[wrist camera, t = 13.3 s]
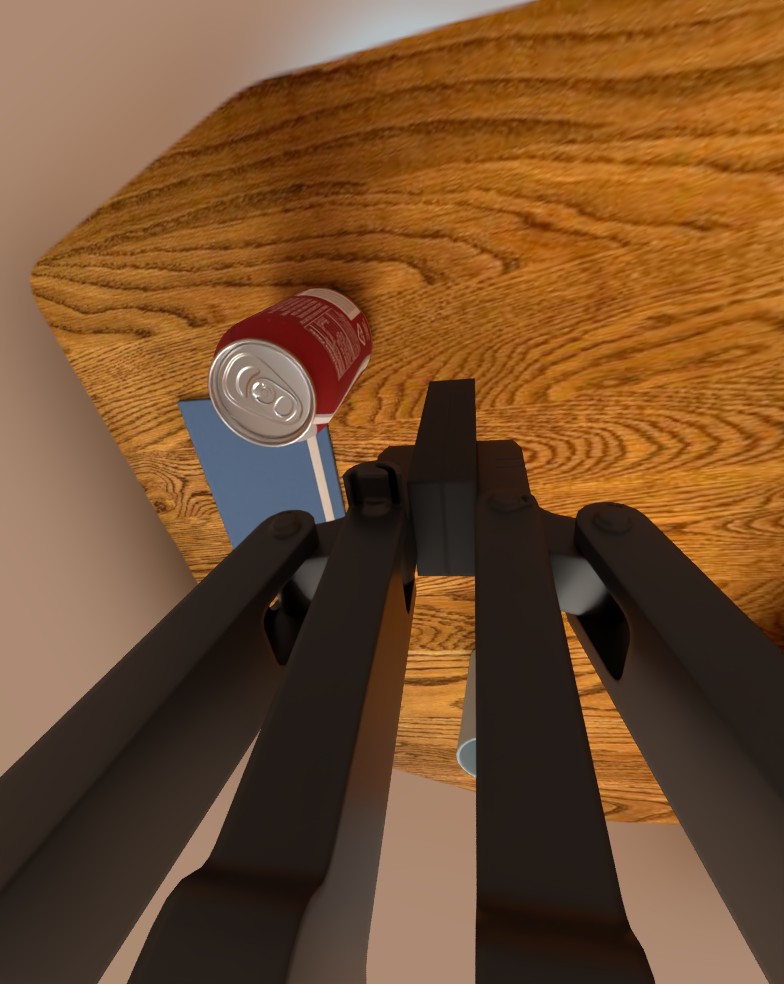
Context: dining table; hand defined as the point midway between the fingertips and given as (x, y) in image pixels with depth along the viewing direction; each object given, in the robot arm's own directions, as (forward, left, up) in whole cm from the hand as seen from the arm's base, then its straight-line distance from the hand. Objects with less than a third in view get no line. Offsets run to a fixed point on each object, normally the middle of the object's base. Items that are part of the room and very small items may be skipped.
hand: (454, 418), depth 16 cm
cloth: (+12, -17, -17) cm, 27 cm away
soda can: (0, -10, -17) cm, 20 cm away
